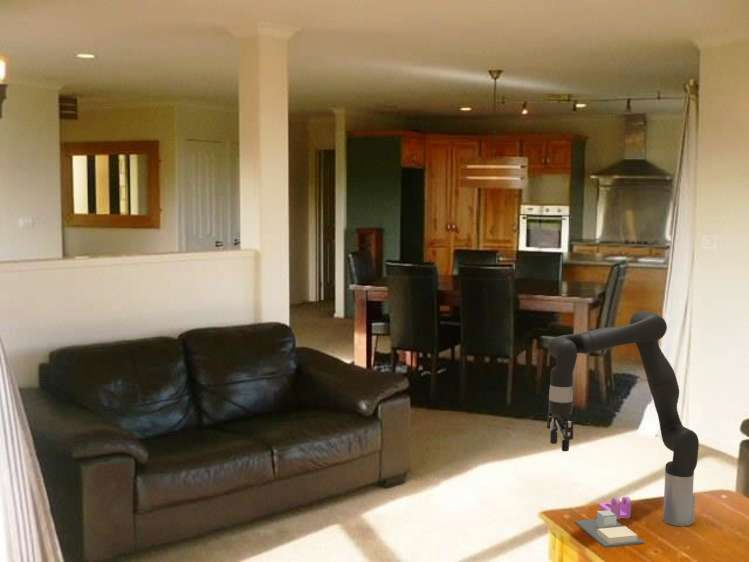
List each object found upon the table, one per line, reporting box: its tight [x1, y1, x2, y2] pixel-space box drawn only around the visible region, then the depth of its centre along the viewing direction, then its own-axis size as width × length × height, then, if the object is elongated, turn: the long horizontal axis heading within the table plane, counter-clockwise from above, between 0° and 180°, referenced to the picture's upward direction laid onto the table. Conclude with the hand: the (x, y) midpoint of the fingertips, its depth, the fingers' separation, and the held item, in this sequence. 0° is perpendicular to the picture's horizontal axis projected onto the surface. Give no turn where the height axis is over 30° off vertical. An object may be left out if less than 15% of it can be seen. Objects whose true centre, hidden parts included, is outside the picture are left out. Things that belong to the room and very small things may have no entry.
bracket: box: [599, 496, 632, 520], centre depth 302 cm, size 13×6×7 cm, turn 16°
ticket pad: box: [574, 518, 645, 548], centre depth 284 cm, size 14×21×3 cm, turn 14°
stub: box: [596, 510, 618, 528], centre depth 285 cm, size 4×5×6 cm
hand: (559, 447), depth 280 cm, fingers open, 8 cm apart
